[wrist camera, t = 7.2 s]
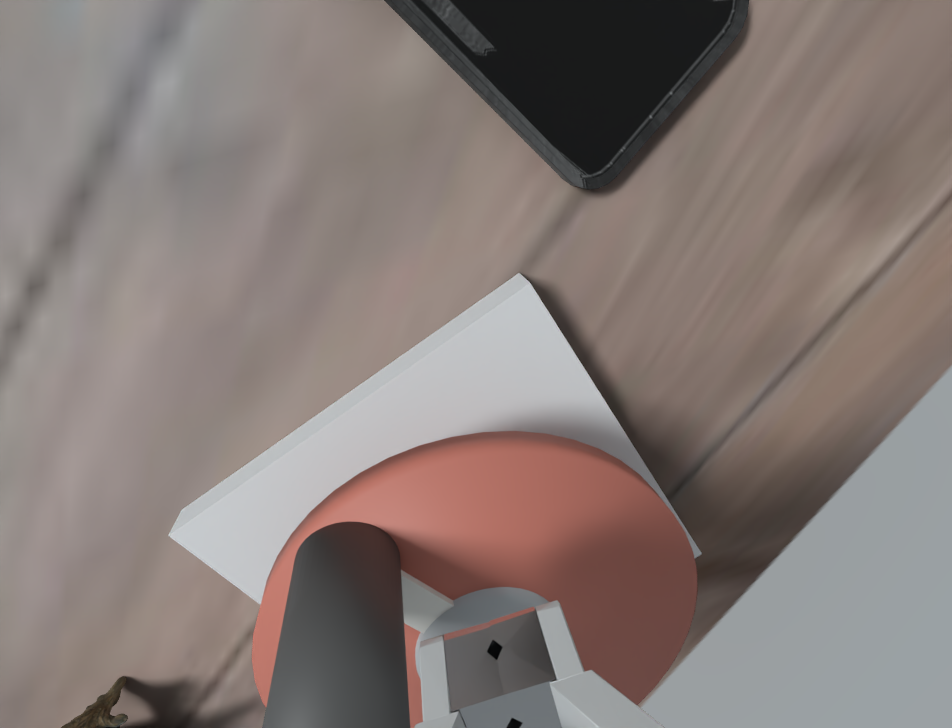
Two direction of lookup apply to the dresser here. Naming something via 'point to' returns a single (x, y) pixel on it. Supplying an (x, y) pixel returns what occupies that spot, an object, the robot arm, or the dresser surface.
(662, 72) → the phone
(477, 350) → the square base plate
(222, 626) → the dresser surface
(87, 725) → the eagle figurine
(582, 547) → the handwheel
